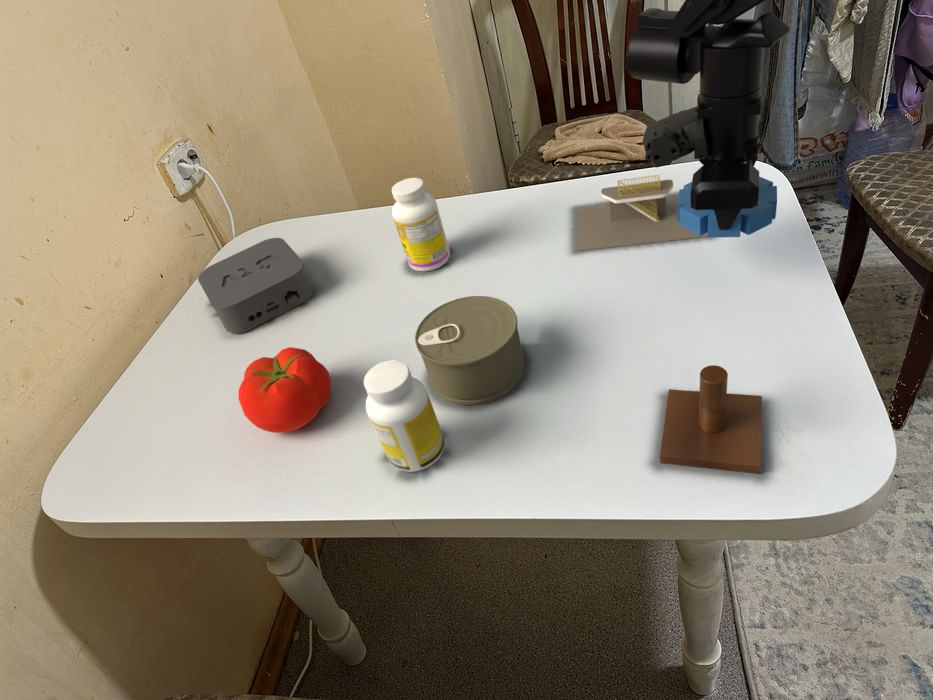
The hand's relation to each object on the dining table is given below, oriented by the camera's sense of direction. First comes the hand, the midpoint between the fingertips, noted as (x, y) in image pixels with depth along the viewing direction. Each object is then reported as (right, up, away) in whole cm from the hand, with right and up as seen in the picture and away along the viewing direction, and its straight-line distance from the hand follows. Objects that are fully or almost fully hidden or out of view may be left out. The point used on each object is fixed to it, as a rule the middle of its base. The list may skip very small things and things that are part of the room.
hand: (724, 222), depth 75 cm
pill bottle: (-35, -26, -3) cm, 43 cm away
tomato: (-50, -22, +6) cm, 55 cm away
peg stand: (-5, -23, -10) cm, 25 cm away
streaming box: (-61, -6, +28) cm, 68 cm away
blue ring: (+2, +2, +4) cm, 4 cm away
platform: (-4, +4, +22) cm, 22 cm away
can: (-28, -17, +5) cm, 33 cm away
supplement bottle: (-35, -1, +26) cm, 44 cm away
